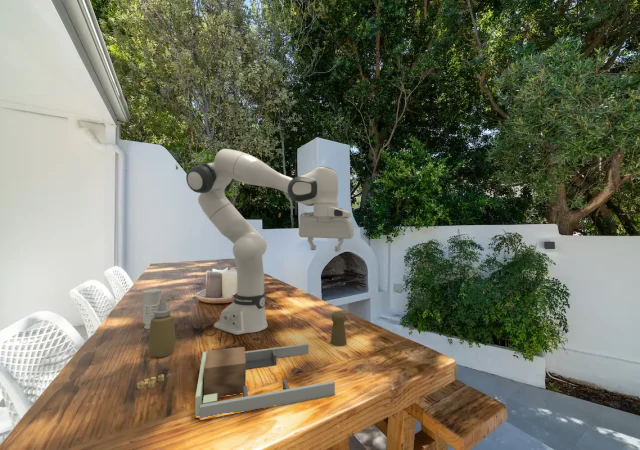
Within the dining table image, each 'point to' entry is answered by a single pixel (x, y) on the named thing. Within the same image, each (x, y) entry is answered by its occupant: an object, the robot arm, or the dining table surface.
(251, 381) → the dining table surface
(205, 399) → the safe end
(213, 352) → the walnut block
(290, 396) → the grey u-shaped frame
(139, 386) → the dice set
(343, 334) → the olive pawn
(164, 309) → the squeeze bottle
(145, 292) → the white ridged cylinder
